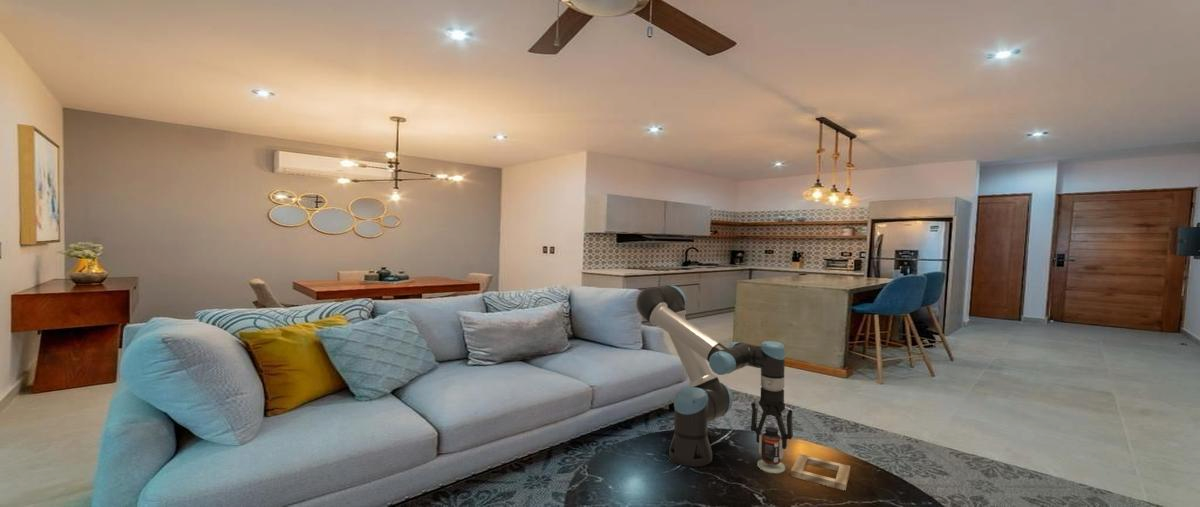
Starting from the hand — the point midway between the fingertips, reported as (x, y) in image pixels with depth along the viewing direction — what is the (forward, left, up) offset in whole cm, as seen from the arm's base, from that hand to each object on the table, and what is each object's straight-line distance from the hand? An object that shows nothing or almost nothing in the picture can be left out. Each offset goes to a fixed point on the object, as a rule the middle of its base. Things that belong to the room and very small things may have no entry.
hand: (771, 454), depth 163 cm
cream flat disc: (0, 0, -4) cm, 4 cm away
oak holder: (+15, +4, -4) cm, 16 cm away
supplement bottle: (0, 0, -3) cm, 3 cm away
